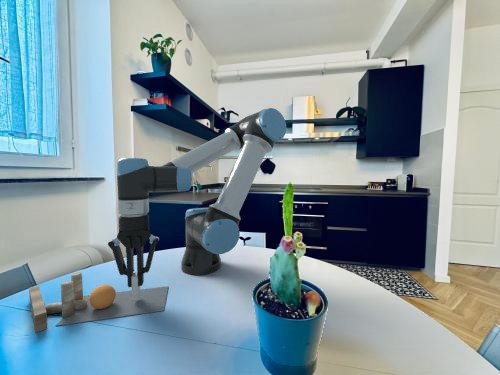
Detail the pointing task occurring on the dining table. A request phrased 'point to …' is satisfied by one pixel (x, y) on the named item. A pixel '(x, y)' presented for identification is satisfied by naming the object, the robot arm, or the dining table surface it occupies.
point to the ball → (102, 297)
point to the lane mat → (121, 306)
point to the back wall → (38, 309)
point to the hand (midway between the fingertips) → (136, 296)
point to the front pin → (58, 306)
